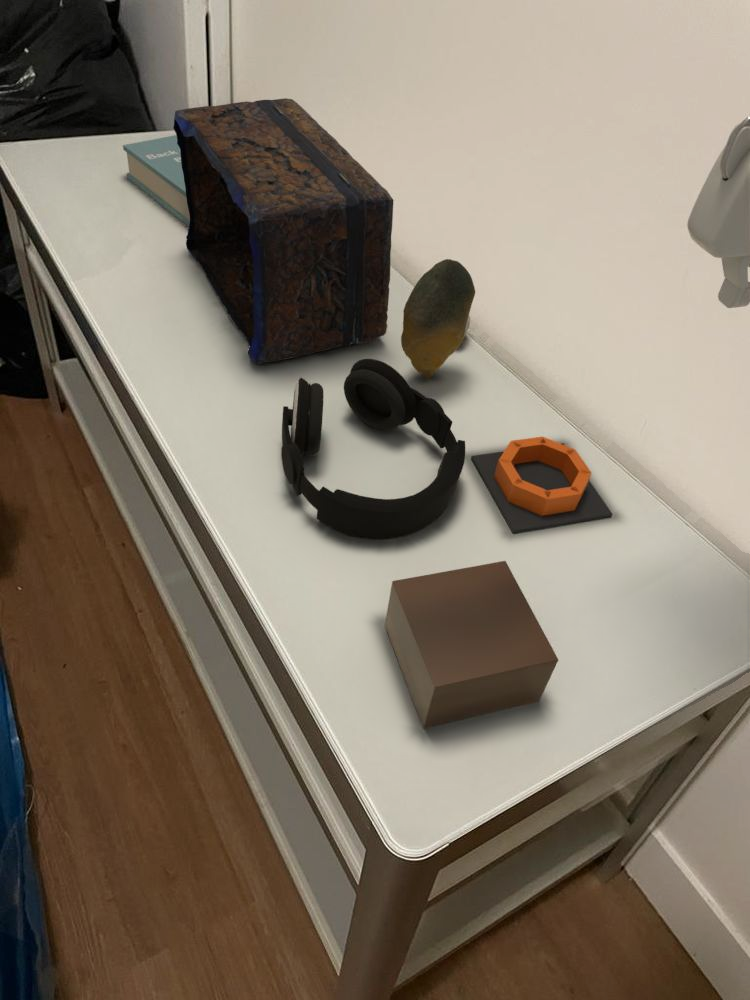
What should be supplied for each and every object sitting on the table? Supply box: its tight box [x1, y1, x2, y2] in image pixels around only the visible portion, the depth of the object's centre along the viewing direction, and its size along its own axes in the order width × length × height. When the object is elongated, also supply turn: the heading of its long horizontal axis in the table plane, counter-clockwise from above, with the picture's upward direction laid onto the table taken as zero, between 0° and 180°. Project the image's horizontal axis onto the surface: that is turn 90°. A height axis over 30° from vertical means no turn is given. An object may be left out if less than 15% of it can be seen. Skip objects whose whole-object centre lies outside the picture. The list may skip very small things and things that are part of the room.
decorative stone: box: [400, 258, 476, 379], centre depth 88 cm, size 10×6×15 cm, turn 130°
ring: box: [494, 436, 592, 516], centre depth 80 cm, size 9×9×2 cm
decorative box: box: [173, 97, 395, 365], centre depth 95 cm, size 31×20×20 cm
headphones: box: [280, 358, 466, 540], centre depth 78 cm, size 18×8×20 cm
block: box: [384, 560, 559, 729], centre depth 63 cm, size 10×10×6 cm
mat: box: [470, 442, 613, 534], centre depth 81 cm, size 11×11×1 cm
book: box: [122, 134, 190, 227], centre depth 119 cm, size 23×16×5 cm
